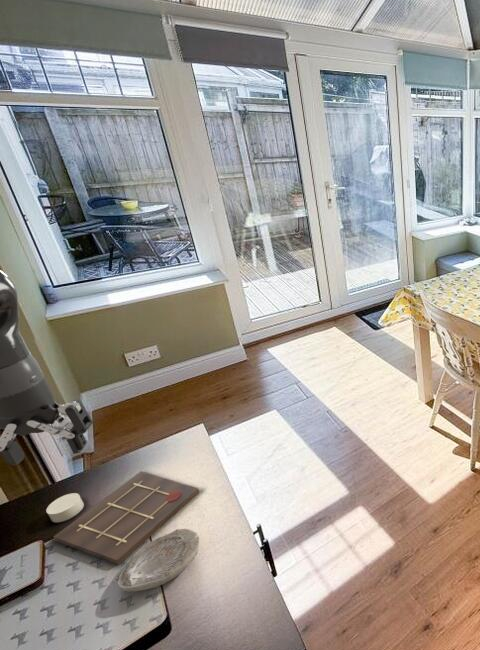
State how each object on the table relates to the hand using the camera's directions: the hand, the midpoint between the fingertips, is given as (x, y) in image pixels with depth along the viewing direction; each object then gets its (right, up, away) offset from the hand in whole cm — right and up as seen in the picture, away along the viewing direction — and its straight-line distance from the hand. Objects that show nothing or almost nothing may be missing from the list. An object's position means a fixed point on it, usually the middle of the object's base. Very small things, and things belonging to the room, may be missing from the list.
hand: (49, 455), depth 75 cm
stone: (-6, -15, +9) cm, 19 cm away
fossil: (+21, -20, 0) cm, 29 cm away
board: (+7, -16, +9) cm, 19 cm away
